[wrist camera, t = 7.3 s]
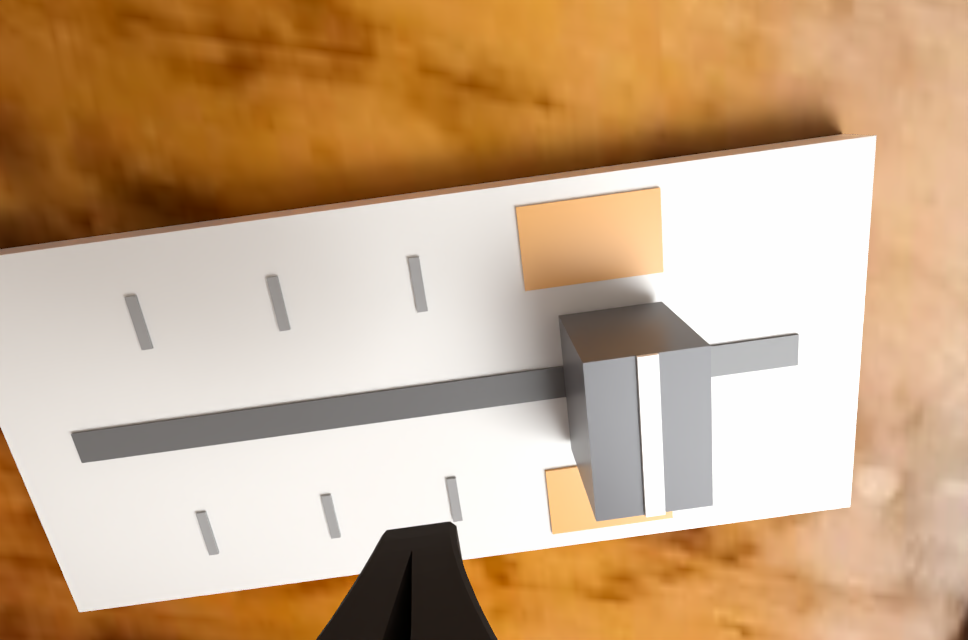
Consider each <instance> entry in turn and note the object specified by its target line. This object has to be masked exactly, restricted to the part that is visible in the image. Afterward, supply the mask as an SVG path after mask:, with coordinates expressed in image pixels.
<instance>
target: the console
mask: <svg viewBox="0 0 968 640" xmlns="http://www.w3.org/2000/svg"><path fill="white" fill-rule="evenodd" d="M875 148H876V135H856V134H839V135H832V136H825V137H817V138H810V139H803V140H795V141H788V142H781V143H773V144H766V145H759V146H752V147H744V148H737V149H730V150H722V151H715V152H708V153H700V154H693V155H686V156H678V157H671V158H664V159H656V160H649V161H642V162H634V163H627V164H620V165H613V166H605V167H598V168H591V169H583V170H576V171H569V172H561V173H554V174H547V175H539V176H532V177H525V178H517V179H510V180H503V181H495V182H488V183H481V184H474V185H466V186H459V187H452V188H444V189H437V190H430V191H422V192H415V193H408V194H400V195H393V196H386V197H378V198H371V199H364V200H356V201H349V202H342V203H334V204H327V205H320V206H313V207H305V208H298V209H291V210H283V211H276V212H269V213H261V214H254V215H247V216H239V217H232V218H225V219H217V220H210V221H203V222H195V223H188V224H181V225H174V226H166V227H159V228H152V229H144V230H137V231H130V232H122V233H115V234H108V235H100V236H93V237H86V238H78V239H71V240H64V241H56V242H49V243H42V244H35V245H27V246H20V247H13V248H5V249H0V427H1V429H2V432H3V434H4V436H5V439H6V441H7V443H8V446H9V448H10V450H11V453H12V455H13V458H14V460H15V462H16V465H17V467H18V469H19V472H20V474H21V476H22V479H23V481H24V483H25V486H26V488H27V490H28V493H29V495H30V497H31V500H32V502H33V505H34V507H35V509H36V512H37V514H38V516H39V519H40V521H41V523H42V526H43V528H44V530H45V533H46V535H47V537H48V540H49V542H50V544H51V547H52V549H53V552H54V554H55V556H56V559H57V561H58V563H59V566H60V568H61V570H62V573H63V575H64V577H65V580H66V582H67V584H68V587H69V589H70V592H71V594H72V596H73V599H74V601H75V603H76V606H77V608H78V610H79V612H86V611H93V610H100V609H108V608H115V607H122V606H130V605H137V604H144V603H151V602H159V601H166V600H173V599H181V598H188V597H195V596H203V595H210V594H217V593H224V592H232V591H239V590H246V589H254V588H261V587H268V586H276V585H283V584H290V583H297V582H305V581H312V580H319V579H327V578H334V577H341V576H349V575H356V574H360V573H361V571H362V570H363V568H364V566H365V564H366V563H367V561H368V559H369V558H370V556H371V554H372V552H373V551H374V549H375V547H376V545H377V543H378V542H379V540H380V538H381V536H382V535H383V534H384V533H385V531H386V530H390V529H397V528H405V527H412V526H419V525H427V524H434V523H441V522H448V521H450V522H452V523H453V524H455V525H456V526H457V532H458V537H459V543H460V549H461V555H462V560H465V559H473V558H480V557H487V556H495V555H502V554H509V553H516V552H524V551H531V550H538V549H546V548H553V547H560V546H568V545H575V544H582V543H590V542H597V541H604V540H611V539H619V538H626V537H633V536H641V535H648V534H655V533H663V532H670V531H677V530H684V529H692V528H699V527H706V526H714V525H721V524H728V523H736V522H743V521H750V520H757V519H765V518H772V517H779V516H787V515H794V514H801V513H809V512H816V511H823V510H830V509H838V508H845V507H850V503H851V489H852V474H853V460H854V446H855V432H856V418H857V403H858V389H859V375H860V361H861V347H862V333H863V318H864V304H865V290H866V276H867V262H868V247H869V233H870V219H871V205H872V191H873V177H874V162H875ZM661 301H662V302H663V303H664V304H665V305H666V306H667V307H669V308H670V309H671V310H672V311H673V312H674V313H675V314H676V315H677V316H679V317H680V318H681V319H682V320H683V321H684V322H685V323H686V324H687V325H688V326H690V327H691V328H692V329H693V330H694V331H695V332H696V333H697V334H698V335H700V336H701V337H702V338H703V339H704V340H705V341H706V342H707V343H708V344H710V345H711V398H712V475H713V506H706V507H699V508H692V509H685V510H677V511H670V512H665V513H666V515H660V516H652V517H646V516H645V515H641V516H633V517H626V518H619V519H612V520H604V521H597V522H596V519H595V517H594V514H593V511H592V508H591V505H590V502H589V499H588V496H587V493H586V491H585V488H584V485H583V482H582V479H581V476H580V473H579V470H578V467H577V465H576V462H575V459H574V456H573V453H572V450H571V442H570V431H569V421H568V411H567V400H566V390H565V379H564V369H563V358H562V348H561V337H560V327H559V317H558V316H559V315H566V314H573V313H581V312H588V311H595V310H603V309H610V308H617V307H625V306H632V305H639V304H646V303H654V302H661Z"/></svg>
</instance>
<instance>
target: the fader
mask: <svg viewBox="0 0 968 640" xmlns="http://www.w3.org/2000/svg"><path fill="white" fill-rule="evenodd" d="M558 317H559V327H560V337H561V348H562V358H563V369H564V379H565V390H566V400H567V411H568V421H569V431H570V442H571V450H572V453H573V456H574V459H575V462H576V465H577V467H578V470H579V473H580V476H581V479H582V482H583V485H584V488H585V491H586V493H587V496H588V499H589V502H590V505H591V508H592V511H593V514H594V517H595V519H596V522H597V521H604V520H612V519H619V518H626V517H633V516H641V515H645V516H646V517H652V516H660V515H666V513H665V512H670V511H677V510H685V509H692V508H699V507H706V506H713V475H712V398H711V345H710V344H708V343H707V342H706V341H705V340H704V339H703V338H702V337H701V336H700V335H698V334H697V333H696V332H695V331H694V330H693V329H692V328H691V327H690V326H688V325H687V324H686V323H685V322H684V321H683V320H682V319H681V318H680V317H679V316H677V315H676V314H675V313H674V312H673V311H672V310H671V309H670V308H669V307H667V306H666V305H665V304H664V303H663V302H662V301H661V302H654V303H646V304H639V305H632V306H625V307H617V308H610V309H603V310H595V311H588V312H581V313H573V314H566V315H559V316H558Z"/></svg>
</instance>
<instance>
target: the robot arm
mask: <svg viewBox="0 0 968 640" xmlns="http://www.w3.org/2000/svg"><path fill="white" fill-rule="evenodd" d="M316 640H497V638H496V636H495V634H494V632H493V631H492V629H491V627H490V625H489V623H488V621H487V619H486V617H485V615H484V613H483V611H482V609H481V607H480V605H479V603H478V601H477V598H476V596H475V594H474V591H473V589H472V586H471V584H470V582H469V579H468V577H467V574H466V571H465V569H464V566H463V561H462V555H461V549H460V543H459V537H458V532H457V526H456V525H455V524H453V523H452V522H450V521H448V522H441V523H434V524H427V525H419V526H412V527H405V528H397V529H390V530H386V531H385V533H384V534H383V535H382V536H381V538H380V540H379V542H378V543H377V545H376V547H375V549H374V551H373V552H372V554H371V556H370V558H369V559H368V561H367V563H366V564H365V566H364V568H363V570H362V571H361V573H360V574H359V576H358V578H357V579H356V581H355V583H354V584H353V586H352V587H351V589H350V591H349V592H348V594H347V595H346V597H345V598H344V600H343V601H342V603H341V605H340V606H339V608H338V609H337V611H336V612H335V614H334V615H333V617H332V618H331V620H330V621H329V622H328V624H327V625H326V627H325V628H324V629H323V631H322V632H321V633H320V635H319V636H318V638H317V639H316Z"/></svg>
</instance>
